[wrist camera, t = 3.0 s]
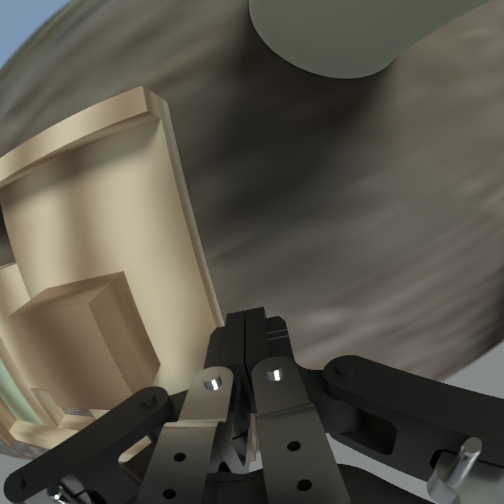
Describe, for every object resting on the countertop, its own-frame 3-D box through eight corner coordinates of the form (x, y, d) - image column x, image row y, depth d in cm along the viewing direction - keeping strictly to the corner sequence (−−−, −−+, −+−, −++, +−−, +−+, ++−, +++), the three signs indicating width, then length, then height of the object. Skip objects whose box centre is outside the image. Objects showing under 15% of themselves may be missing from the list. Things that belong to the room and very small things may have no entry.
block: (123, 270, 15) (88, 303, 11) (160, 364, 16) (141, 410, 12) (46, 288, 15) (7, 317, 11) (84, 369, 17) (58, 406, 13)
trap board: (167, 103, 14) (133, 79, 9) (255, 420, 20) (256, 472, 15) (-61, 225, 16) (-96, 238, 11) (25, 415, 22) (5, 443, 17)
